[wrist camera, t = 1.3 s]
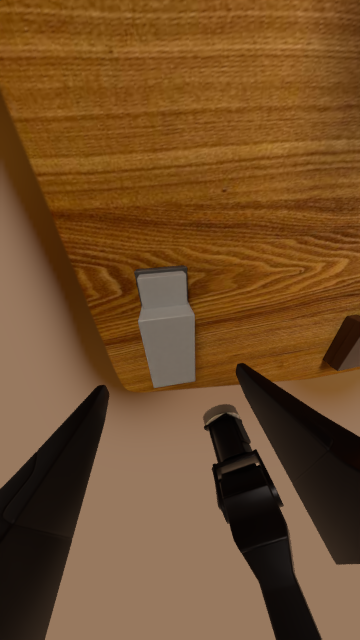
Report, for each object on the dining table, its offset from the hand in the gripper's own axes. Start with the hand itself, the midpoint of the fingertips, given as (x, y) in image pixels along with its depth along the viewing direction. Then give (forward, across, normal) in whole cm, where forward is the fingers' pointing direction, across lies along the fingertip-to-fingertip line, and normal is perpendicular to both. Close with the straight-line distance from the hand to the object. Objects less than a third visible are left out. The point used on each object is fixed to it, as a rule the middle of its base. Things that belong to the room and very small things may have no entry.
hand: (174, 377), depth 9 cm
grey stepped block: (+8, 0, 0) cm, 8 cm away
